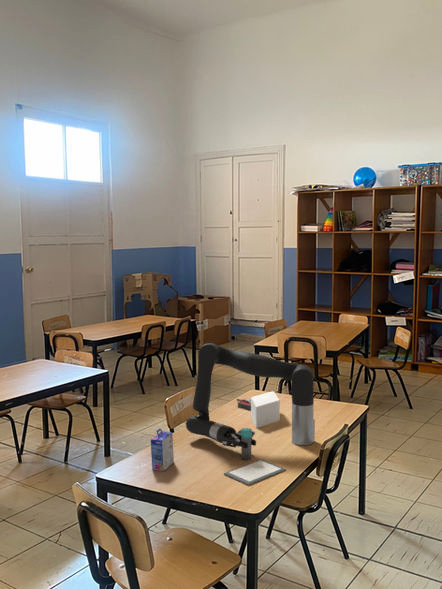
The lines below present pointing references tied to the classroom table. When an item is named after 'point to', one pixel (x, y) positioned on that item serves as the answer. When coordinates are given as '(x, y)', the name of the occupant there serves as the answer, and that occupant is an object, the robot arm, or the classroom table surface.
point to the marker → (246, 437)
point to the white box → (265, 409)
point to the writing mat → (254, 472)
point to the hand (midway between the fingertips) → (251, 444)
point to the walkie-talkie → (244, 404)
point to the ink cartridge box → (162, 450)
